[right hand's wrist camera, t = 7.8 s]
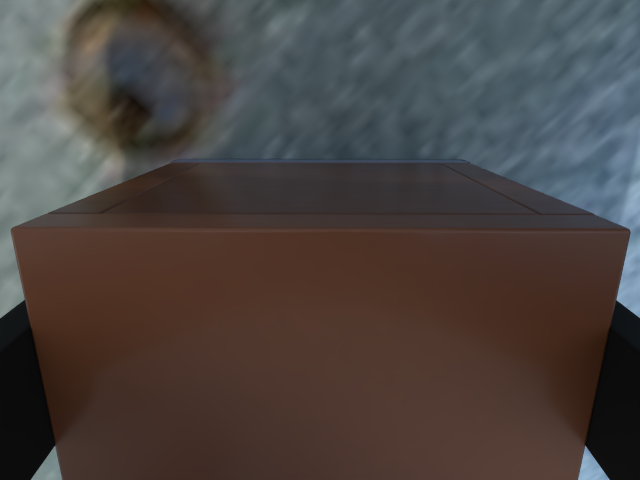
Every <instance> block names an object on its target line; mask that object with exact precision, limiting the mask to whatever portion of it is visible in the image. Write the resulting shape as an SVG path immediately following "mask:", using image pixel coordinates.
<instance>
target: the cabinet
mask: <svg viewBox="0 0 640 480" xmlns="http://www.w3.org/2000/svg"><path fill="white" fill-rule="evenodd" d="M11 235H12V240H13V244H14V249H15V254H16V259H17V264H18V268H19V273H20V278H21V283H22V288H23V292H24V297H25V302H26V307H27V312H28V317H29V321H30V326H31V331H32V336H33V341H34V345H35V350H36V355H37V360H38V365H39V369H40V374H41V379H42V384H43V389H44V394H45V398H46V403H47V408H48V413H49V418H50V422H51V427H52V432H53V437H54V442H55V446H56V451H57V456H58V461H59V466H60V470H61V475H62V480H578V477H579V472H580V468H581V463H582V458H583V454H584V449H585V444H586V439H587V435H588V430H589V425H590V421H591V416H592V411H593V407H594V402H595V397H596V392H597V388H598V383H599V378H600V374H601V369H602V364H603V360H604V355H605V350H606V345H607V341H608V336H609V331H610V327H611V322H612V317H613V313H614V308H615V303H616V298H617V294H618V289H619V284H620V280H621V275H622V270H623V266H624V261H625V256H626V251H627V247H628V242H629V237H630V230H629V229H628V228H625V227H623V226H621V225H618V224H616V223H613V222H611V221H608V220H606V219H603V218H601V217H599V216H596V215H594V214H593V213H590V212H588V211H585V210H583V209H580V208H578V207H575V206H573V205H570V204H568V203H566V202H563V201H561V200H558V199H556V198H553V197H551V196H548V195H546V194H544V193H541V192H539V191H536V190H534V189H531V188H529V187H526V186H524V185H522V184H519V183H517V182H514V181H512V180H509V179H507V178H504V177H502V176H499V175H497V174H495V173H492V172H490V171H487V170H485V169H482V168H480V167H477V166H475V165H473V164H470V162H467V161H465V160H318V159H177V160H175V161H172V162H171V163H170V164H168V165H165V166H163V167H160V168H158V169H155V170H153V171H150V172H148V173H145V174H143V175H140V176H138V177H136V178H133V179H131V180H128V181H126V182H123V183H121V184H118V185H116V186H113V187H111V188H108V189H106V190H104V191H101V192H99V193H96V194H94V195H91V196H89V197H86V198H84V199H81V200H79V201H76V202H74V203H72V204H69V205H67V206H64V207H62V208H59V209H57V210H54V211H52V212H49V213H48V214H45V215H42V216H40V217H37V218H35V219H32V220H30V221H28V222H25V223H23V224H20V225H18V226H15V227H13V228H12V229H11Z"/></svg>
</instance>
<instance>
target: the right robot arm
mask: <svg viewBox="0 0 640 480" xmlns="http://www.w3.org/2000/svg"><path fill="white" fill-rule="evenodd" d="M585 445H586V447H587V448H588V450H589V451H590V452H591V454H592V455H593V457H594V458H595V459H596V461H597V462H598V464H599V465H600V467H601V468H602V469H603V471H604V472H605V474H606V475H607V476H608V478H609V479H610V480H640V318H639V317H638V316H636V315H635V314H634V313H632V312H631V311H630V310H628V309H627V308H626V307H624V306H623V305H622V304H621V303H619V302H618V301H617V300H616V303H615V308H614V313H613V317H612V322H611V327H610V331H609V336H608V341H607V345H606V350H605V355H604V360H603V364H602V369H601V374H600V378H599V383H598V388H597V392H596V397H595V402H594V407H593V411H592V416H591V421H590V425H589V430H588V435H587V439H586V444H585ZM54 446H55V442H54V437H53V432H52V427H51V422H50V418H49V413H48V408H47V403H46V398H45V394H44V389H43V384H42V379H41V374H40V369H39V365H38V360H37V355H36V350H35V345H34V341H33V336H32V331H31V326H30V321H29V317H28V312H27V307H26V302H25V300H24V301H23V302H21V303H20V304H19V305H17V306H16V307H15V308H13V309H12V310H11V311H10V312H8V313H7V314H6V315H4V316H3V317H2V318H0V480H31V478H32V477H33V476H34V474H35V473H36V471H37V470H38V469H39V467H40V466H41V464H42V463H43V462H44V460H45V459H46V457H47V456H48V455H49V453H50V452H51V450H52V449H53V448H54Z"/></svg>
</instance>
